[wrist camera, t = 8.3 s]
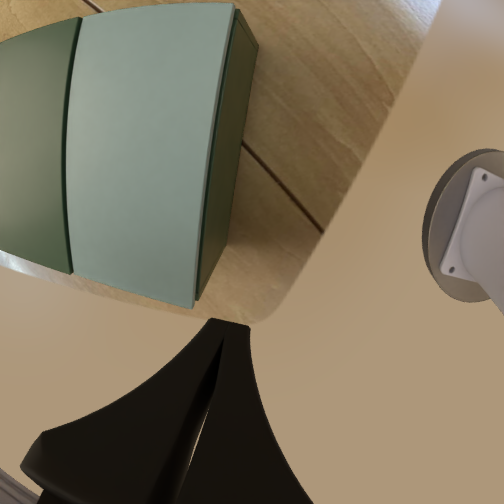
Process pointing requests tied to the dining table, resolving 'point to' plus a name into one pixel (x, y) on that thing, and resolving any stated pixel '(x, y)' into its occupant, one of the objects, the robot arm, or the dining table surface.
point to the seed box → (55, 134)
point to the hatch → (143, 144)
